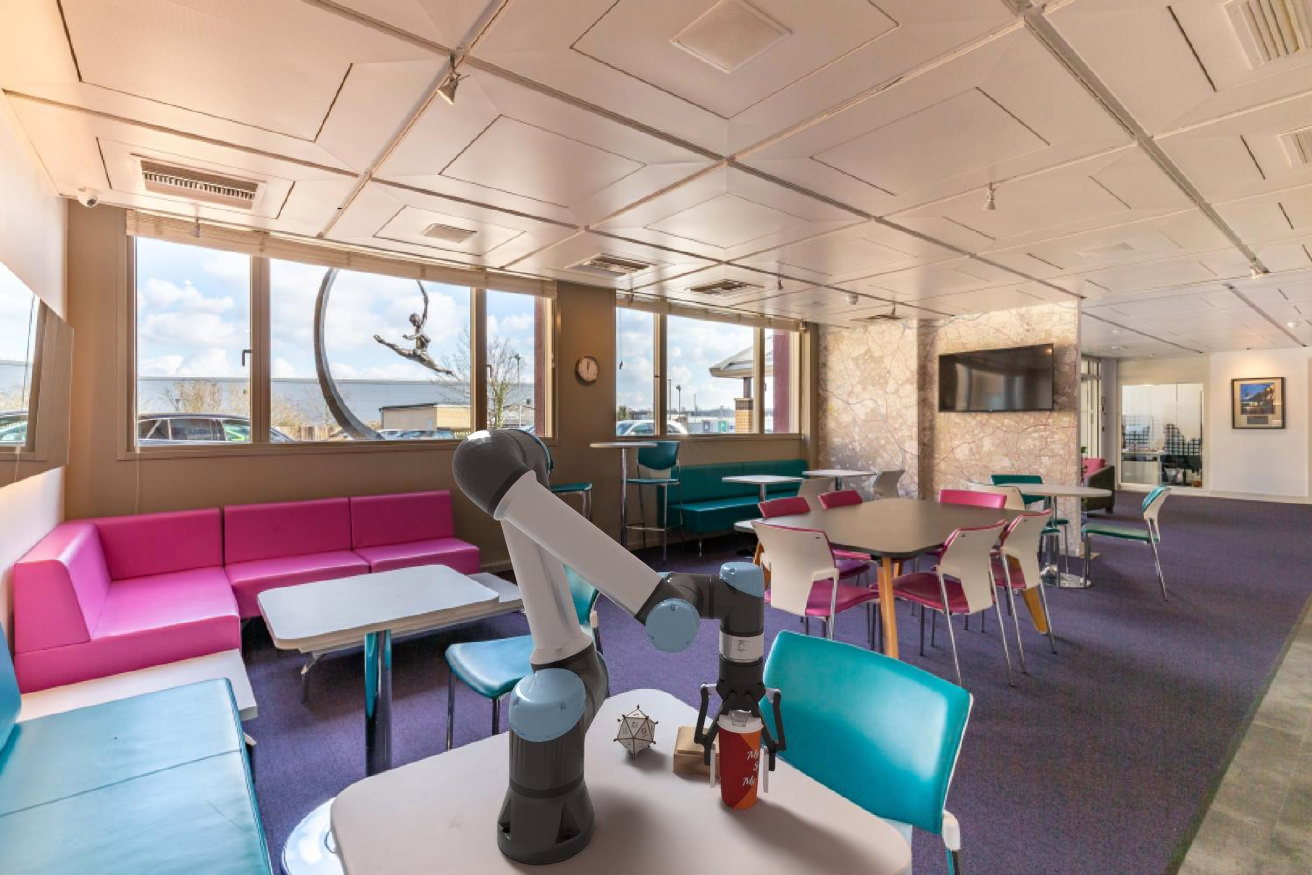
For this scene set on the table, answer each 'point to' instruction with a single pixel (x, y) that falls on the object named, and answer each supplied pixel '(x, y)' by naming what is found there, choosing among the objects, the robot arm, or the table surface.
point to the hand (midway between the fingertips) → (738, 785)
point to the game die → (636, 731)
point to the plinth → (692, 753)
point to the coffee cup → (739, 758)
